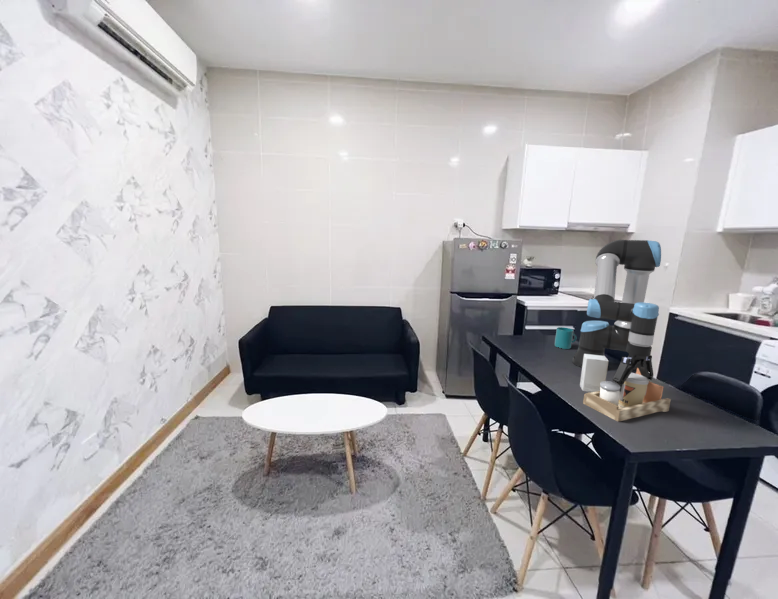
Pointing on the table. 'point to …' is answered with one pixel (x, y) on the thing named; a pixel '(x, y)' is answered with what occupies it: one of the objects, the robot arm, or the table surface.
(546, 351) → the table surface
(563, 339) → the cup
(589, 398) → the wooden tray
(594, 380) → the skincare box
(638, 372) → the pusher
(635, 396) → the coffee cup
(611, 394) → the jar
